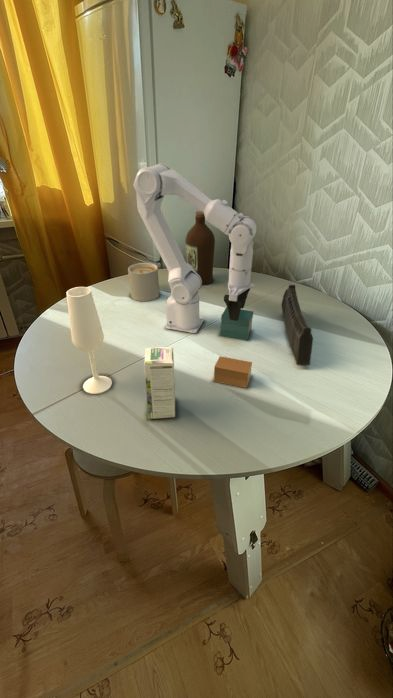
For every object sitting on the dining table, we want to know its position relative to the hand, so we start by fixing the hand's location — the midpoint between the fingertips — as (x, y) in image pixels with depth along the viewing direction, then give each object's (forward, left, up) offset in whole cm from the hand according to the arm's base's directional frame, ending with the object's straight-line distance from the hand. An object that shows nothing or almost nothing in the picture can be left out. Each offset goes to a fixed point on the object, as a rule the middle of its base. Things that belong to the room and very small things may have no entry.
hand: (236, 313), depth 99 cm
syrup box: (-8, -36, -7) cm, 37 cm away
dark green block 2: (0, 0, -7) cm, 7 cm away
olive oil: (-22, +34, -7) cm, 41 cm away
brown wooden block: (+4, -21, -7) cm, 22 cm away
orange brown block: (+4, -21, -4) cm, 22 cm away
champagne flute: (-26, -33, -7) cm, 43 cm away
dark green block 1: (0, 0, -4) cm, 4 cm away
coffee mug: (-37, +17, -7) cm, 41 cm away
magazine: (+16, +3, -7) cm, 18 cm away
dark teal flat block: (0, 0, -2) cm, 2 cm away
